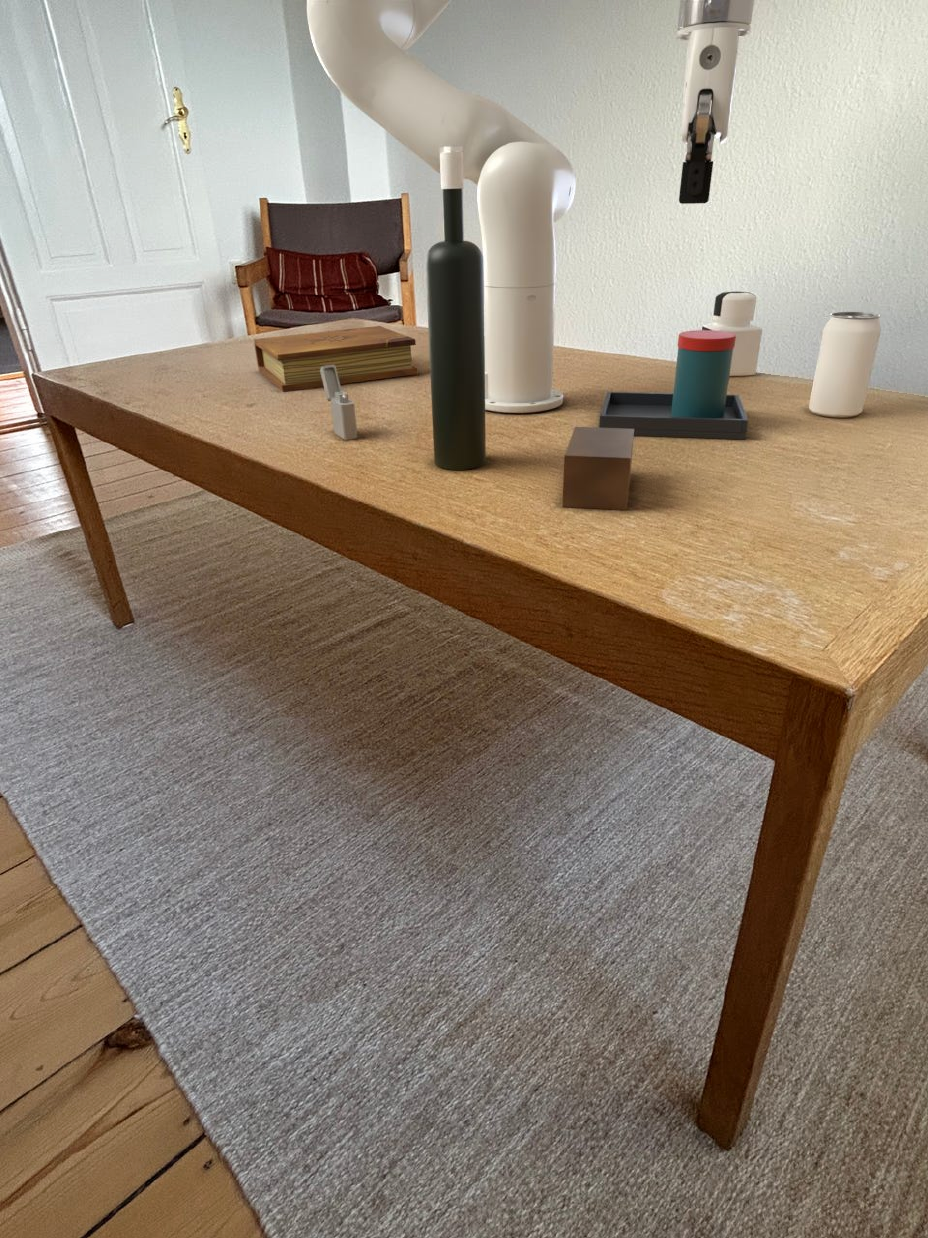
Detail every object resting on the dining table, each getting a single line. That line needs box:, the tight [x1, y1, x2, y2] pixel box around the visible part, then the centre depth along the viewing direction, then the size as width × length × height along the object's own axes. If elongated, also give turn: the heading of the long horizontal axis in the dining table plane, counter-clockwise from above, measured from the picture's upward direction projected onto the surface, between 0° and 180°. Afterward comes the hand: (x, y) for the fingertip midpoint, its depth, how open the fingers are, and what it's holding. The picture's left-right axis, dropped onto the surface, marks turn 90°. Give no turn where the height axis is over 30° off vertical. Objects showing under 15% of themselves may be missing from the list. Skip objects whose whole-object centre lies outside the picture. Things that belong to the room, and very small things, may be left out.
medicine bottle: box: [701, 290, 763, 377], centre depth 119 cm, size 7×7×12 cm
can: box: [808, 311, 882, 419], centre depth 96 cm, size 6×6×12 cm
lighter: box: [320, 365, 359, 441], centre depth 94 cm, size 7×2×8 cm, turn 28°
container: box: [671, 329, 736, 418], centre depth 93 cm, size 12×7×12 cm
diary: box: [253, 325, 419, 392], centre depth 129 cm, size 23×19×6 cm
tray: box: [598, 391, 749, 441], centre depth 96 cm, size 17×13×2 cm
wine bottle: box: [424, 146, 487, 471], centre depth 77 cm, size 6×6×30 cm
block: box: [561, 426, 635, 511], centre depth 74 cm, size 6×10×5 cm, turn 167°
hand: (693, 202), depth 88 cm, fingers open, 9 cm apart
